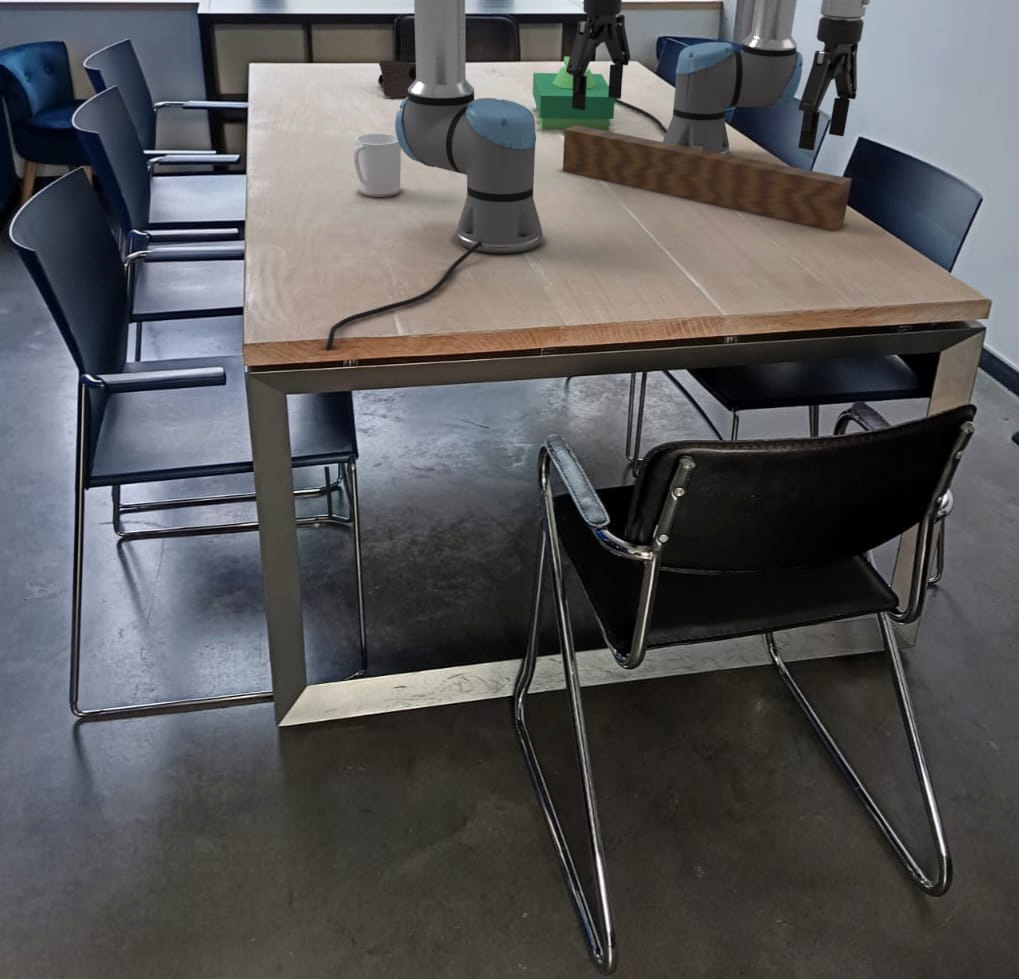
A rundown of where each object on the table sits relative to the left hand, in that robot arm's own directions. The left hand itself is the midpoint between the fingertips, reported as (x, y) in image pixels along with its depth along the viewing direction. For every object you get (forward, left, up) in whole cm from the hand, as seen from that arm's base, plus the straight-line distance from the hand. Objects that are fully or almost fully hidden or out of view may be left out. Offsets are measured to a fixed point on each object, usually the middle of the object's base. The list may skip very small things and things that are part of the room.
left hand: (596, 103), depth 226 cm
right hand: (-25, -43, 0) cm, 49 cm away
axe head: (+72, +56, -15) cm, 93 cm away
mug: (-23, +42, -15) cm, 50 cm away
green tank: (+51, +9, -15) cm, 54 cm away
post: (-12, -21, -15) cm, 29 cm away
